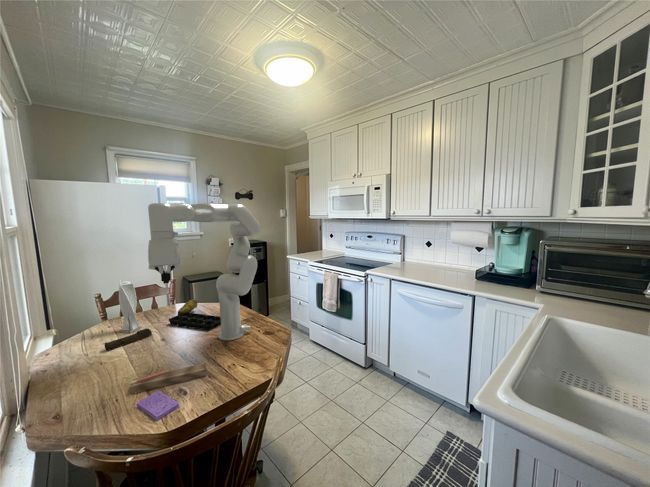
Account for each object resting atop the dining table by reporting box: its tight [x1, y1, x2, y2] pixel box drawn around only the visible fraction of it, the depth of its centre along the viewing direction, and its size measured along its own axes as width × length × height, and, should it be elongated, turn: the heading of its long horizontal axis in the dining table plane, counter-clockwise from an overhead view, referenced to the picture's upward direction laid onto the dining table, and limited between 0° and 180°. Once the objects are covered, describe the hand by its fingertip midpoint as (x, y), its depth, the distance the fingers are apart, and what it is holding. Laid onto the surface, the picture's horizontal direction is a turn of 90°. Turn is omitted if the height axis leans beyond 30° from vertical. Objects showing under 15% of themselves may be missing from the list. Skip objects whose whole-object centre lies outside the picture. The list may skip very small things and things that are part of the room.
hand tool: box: [104, 327, 153, 352], centre depth 129 cm, size 19×4×5 cm, turn 141°
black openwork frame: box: [168, 312, 221, 332], centre depth 151 cm, size 18×30×4 cm, turn 84°
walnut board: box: [129, 362, 207, 395], centre depth 99 cm, size 24×5×3 cm, turn 114°
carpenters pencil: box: [131, 370, 167, 384], centre depth 97 cm, size 10×1×1 cm, turn 126°
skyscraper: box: [118, 278, 143, 334], centre depth 142 cm, size 8×8×28 cm
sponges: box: [136, 390, 180, 421], centre depth 86 cm, size 7×13×2 cm, turn 59°
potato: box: [177, 299, 198, 315], centre depth 165 cm, size 8×13×8 cm, turn 140°
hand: (166, 282), depth 104 cm, fingers closed
